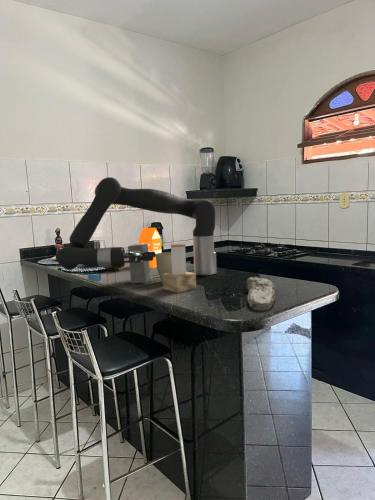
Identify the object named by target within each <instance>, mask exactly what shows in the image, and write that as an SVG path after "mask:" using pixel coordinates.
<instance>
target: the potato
mask: <svg viewBox="0 0 375 500" xmlns="http://www.w3.org/2000/svg"><path fill="white" fill-rule="evenodd" d="M103 268H104V269H105V270H110V271H117V270H120V269H121V268H123V267H103Z"/></svg>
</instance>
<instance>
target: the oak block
mask: <svg viewBox="0 0 375 500" xmlns="http://www.w3.org/2000/svg"><path fill="white" fill-rule="evenodd" d="M162 276H163V283H162V289H163V290H166V291H169V290H170V291H169V292H175V293H182V292H186V291H191V290H194V289H197V275H196V273H194V272H190V271H186V275H172V272H170V273H165V274H162Z"/></svg>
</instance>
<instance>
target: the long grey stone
mask: <svg viewBox="0 0 375 500" xmlns="http://www.w3.org/2000/svg"><path fill="white" fill-rule="evenodd" d="M246 283H247V285H248V286H247V287H248V288H247V289H248V294H247V295H246V296H247V299H246V300H247V303H248V304H249V305H248V306H249V308H251V309H253V310H255V311H258V312H259V311H261V312H264V311H268V310H270V309H271V308H272V306H273V305H274V304H275V301H276V296H275V294H276V285H275V284H274V283H273V281H272V280H270V279H268V278H264V277H263V278H262V277H261V278H260V277H258V276H254V277H251V276H250V277H248V278H247V279H246Z"/></svg>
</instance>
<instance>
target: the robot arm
mask: <svg viewBox="0 0 375 500" xmlns="http://www.w3.org/2000/svg"><path fill="white" fill-rule="evenodd" d="M111 205H117V206H126V207H127V206H128V207H133V208H134V209H135V208H136V209H140V210H146V211H150V212H155V213H161V214H167V215H169V214H170V215H174V214H175V215H181V216H185V217H188V218H191V219H194V220H195V227H194V228H193V230H192V239H193V241H192V243H193V244H192V245H193V247H192V249H193V271H194V272H193V273H196V276H209V275H210V276H211V275H214V274H217V252H215V241H214V239H215V237H214V235H215V234H214V232H215V228H216V208H215V205H214V203H213V202H212V201H211V200H209V199H205V198H204V199H203V198H202V199H190V198H183V197H180V196H177V195H175V194H173V193H171V192H167V191H165V190H164V191H163V190H160V189H154V188H153V189H152V188H127V187H124V186H121V183H120V182H119V180H118V179H116V178H115V177H109V176H108V177H105V178H103V179H101V180H100V181H99V182H98V183H97V185H96V187H95V188H94V198H93V200H92V202H91V204H90V206H89V207H88V208H87V209H86V211H85V213H84V214H83V215H82V216H81V218H80V220H79V221H78V223H77V224H76V226H75V227H74V229H73V230H72V232H71V234H70V236H69V238H68V239H69V244H68V246H65V247H61V248H60V249H58V250H57V251H56V253H55V261H56V263H58V264H59V265H60V266H61V267H62V268H63V269H65V270H68V271H72V270H74V269H76V268H77V267H78V266H83V267H87V268H104V267H122V268H124V266H125V265H126V264H130V263H140V262H143V261H153V257H155V256H156V255H155V252H154V251H153V252H146V251H144V250H142V251H129V252H128V251H127V252H126V251H125V248H124V247H123V246H111V247H110V246H109V247H101V248H100V247H99V248H97V247H95V248H87V245H88V243H90V240H92V239H91V238H92V237H93V235H94V234H95V232H96V230H97V228H98V226H99V225H100V223H101V220H102V219H103V217H104V215H105V214H106V212H107V210H108V209H109V207H110V206H111Z"/></svg>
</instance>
